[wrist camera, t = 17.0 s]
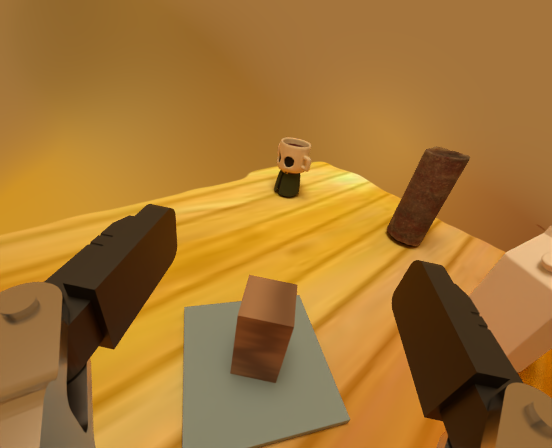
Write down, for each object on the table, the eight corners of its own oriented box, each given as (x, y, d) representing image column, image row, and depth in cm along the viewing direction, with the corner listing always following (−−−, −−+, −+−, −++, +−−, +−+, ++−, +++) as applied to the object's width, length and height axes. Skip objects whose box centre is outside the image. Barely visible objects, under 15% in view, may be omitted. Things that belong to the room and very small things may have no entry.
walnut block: (230, 373, 29) (237, 315, 23) (240, 332, 33) (249, 274, 27) (275, 383, 29) (294, 327, 23) (280, 340, 33) (297, 284, 27)
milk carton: (476, 326, 41) (572, 226, 30) (519, 373, 35) (655, 270, 25) (439, 329, 39) (528, 224, 29) (478, 380, 34) (606, 272, 23)
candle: (403, 252, 54) (456, 159, 43) (377, 231, 59) (418, 143, 48) (426, 245, 58) (480, 157, 47) (399, 226, 63) (442, 143, 52)
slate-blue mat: (182, 468, 22) (182, 465, 22) (184, 311, 35) (184, 307, 34) (347, 422, 27) (350, 419, 27) (298, 298, 40) (299, 295, 39)
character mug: (262, 185, 69) (269, 135, 62) (282, 181, 73) (291, 133, 66) (289, 205, 62) (301, 152, 55) (310, 199, 67) (324, 149, 59)
